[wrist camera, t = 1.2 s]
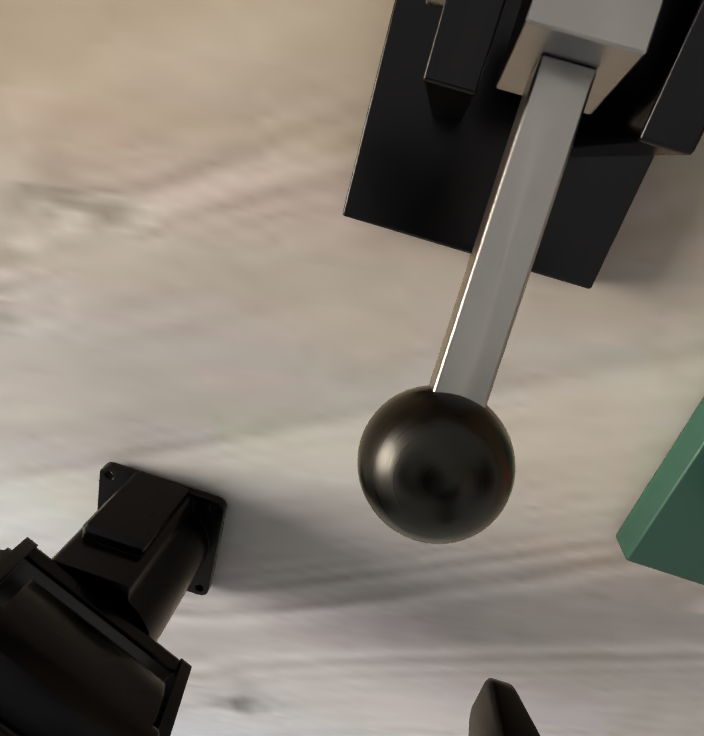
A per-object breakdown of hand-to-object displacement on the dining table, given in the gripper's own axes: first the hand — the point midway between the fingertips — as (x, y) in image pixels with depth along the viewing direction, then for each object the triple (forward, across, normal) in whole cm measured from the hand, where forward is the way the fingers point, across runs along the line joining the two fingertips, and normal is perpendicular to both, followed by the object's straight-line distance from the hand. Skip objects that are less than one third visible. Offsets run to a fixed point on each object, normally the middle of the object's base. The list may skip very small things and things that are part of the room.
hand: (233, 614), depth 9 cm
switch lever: (+6, -3, -6) cm, 9 cm away
